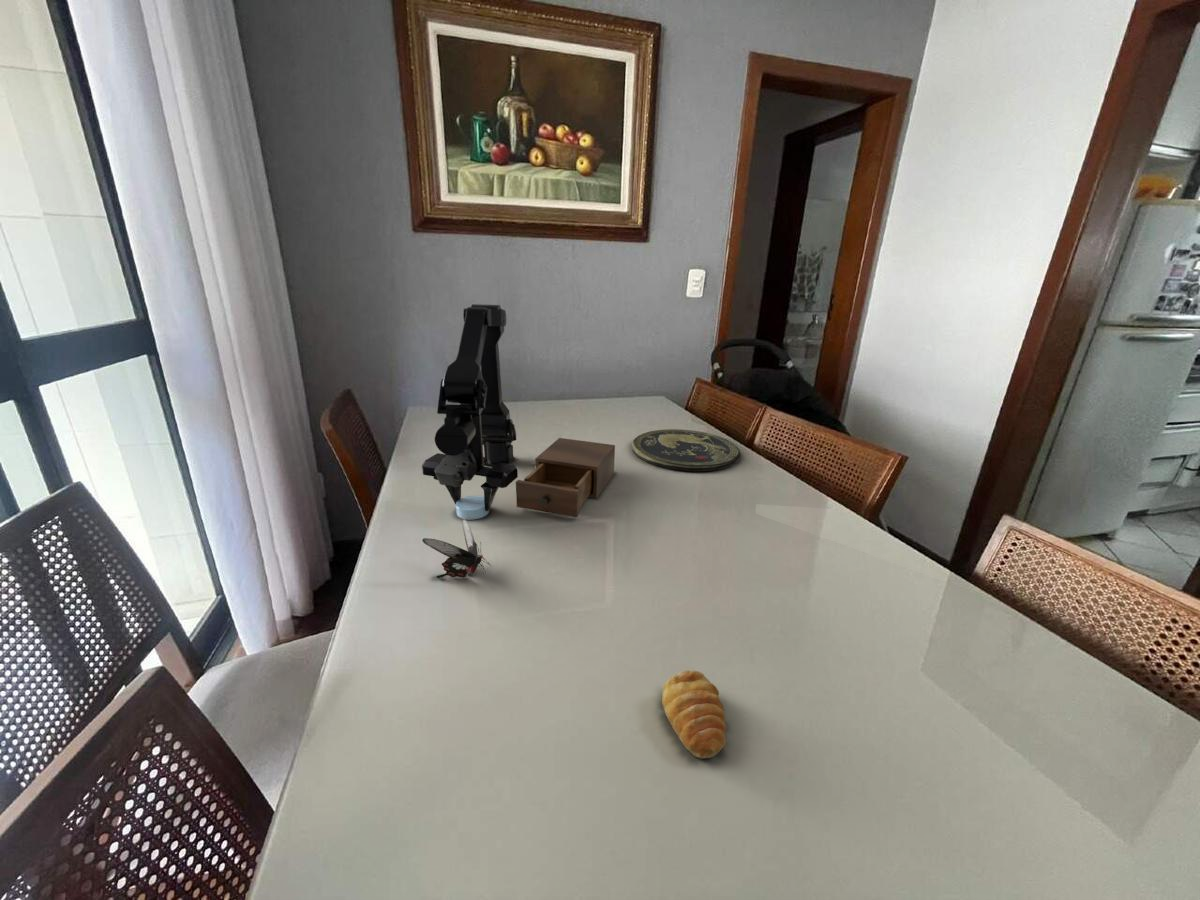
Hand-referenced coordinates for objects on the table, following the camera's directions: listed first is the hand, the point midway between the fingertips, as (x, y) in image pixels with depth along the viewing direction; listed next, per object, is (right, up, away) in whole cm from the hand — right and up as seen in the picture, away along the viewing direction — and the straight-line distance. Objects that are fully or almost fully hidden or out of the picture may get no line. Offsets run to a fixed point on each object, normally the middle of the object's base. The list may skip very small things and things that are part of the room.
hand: (472, 507), depth 101 cm
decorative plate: (+50, +11, +36) cm, 63 cm away
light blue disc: (0, -1, 0) cm, 1 cm away
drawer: (+17, +1, +5) cm, 18 cm away
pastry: (+37, -19, -44) cm, 61 cm away
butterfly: (+3, -10, -21) cm, 23 cm away
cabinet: (+21, +5, +16) cm, 27 cm away
